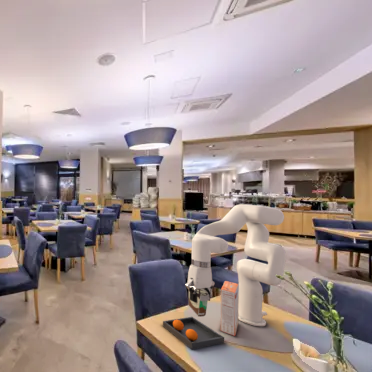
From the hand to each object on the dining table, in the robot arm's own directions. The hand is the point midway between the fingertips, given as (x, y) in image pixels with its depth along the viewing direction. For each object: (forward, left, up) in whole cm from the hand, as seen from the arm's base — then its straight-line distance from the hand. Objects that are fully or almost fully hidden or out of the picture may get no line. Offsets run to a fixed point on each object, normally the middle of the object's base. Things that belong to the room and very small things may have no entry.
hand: (199, 300), depth 110 cm
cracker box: (-19, 0, -16) cm, 25 cm away
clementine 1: (+9, -4, -13) cm, 16 cm away
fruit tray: (+4, 0, -16) cm, 17 cm away
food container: (0, 0, -6) cm, 6 cm away
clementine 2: (+9, +4, -13) cm, 16 cm away
